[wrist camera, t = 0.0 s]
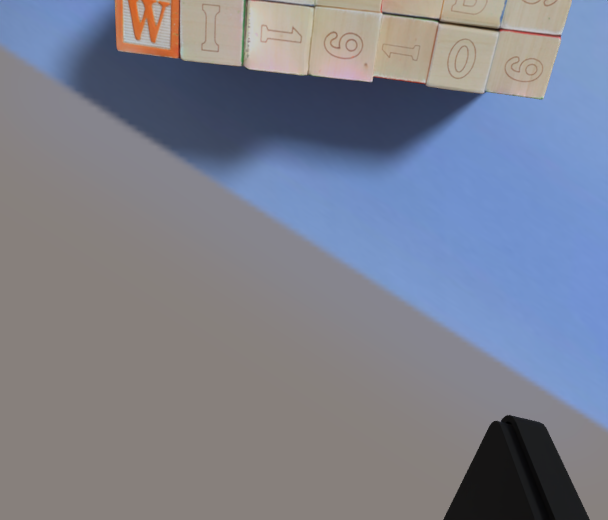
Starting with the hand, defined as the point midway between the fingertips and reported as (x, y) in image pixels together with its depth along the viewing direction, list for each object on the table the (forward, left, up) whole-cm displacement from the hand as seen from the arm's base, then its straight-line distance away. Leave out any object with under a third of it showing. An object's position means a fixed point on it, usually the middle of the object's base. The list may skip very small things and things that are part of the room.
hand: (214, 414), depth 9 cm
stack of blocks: (-6, -4, -32) cm, 32 cm away
